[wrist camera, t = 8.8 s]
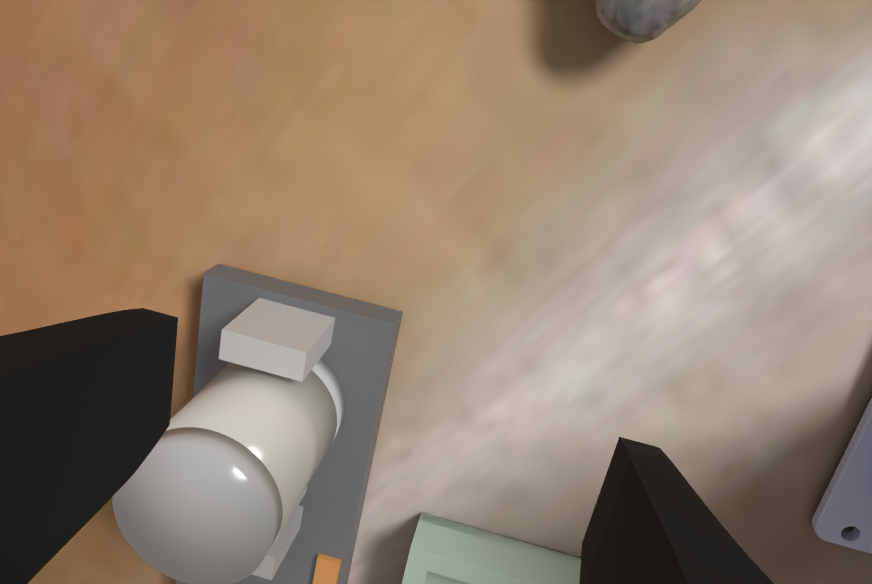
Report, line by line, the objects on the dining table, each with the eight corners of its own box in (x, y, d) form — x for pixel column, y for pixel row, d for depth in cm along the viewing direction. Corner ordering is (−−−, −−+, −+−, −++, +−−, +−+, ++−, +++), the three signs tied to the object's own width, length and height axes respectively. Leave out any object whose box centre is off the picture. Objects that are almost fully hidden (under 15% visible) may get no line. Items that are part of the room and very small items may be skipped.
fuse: (354, 359, 22) (279, 472, 16) (334, 469, 23) (259, 606, 18) (229, 327, 22) (115, 425, 17) (218, 435, 24) (109, 560, 18)
